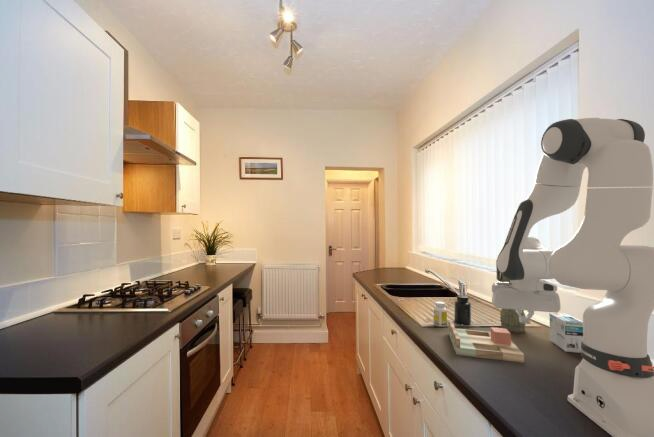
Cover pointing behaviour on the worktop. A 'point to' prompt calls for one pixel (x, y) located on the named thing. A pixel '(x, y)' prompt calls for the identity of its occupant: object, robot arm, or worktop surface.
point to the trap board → (482, 345)
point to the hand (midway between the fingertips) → (524, 322)
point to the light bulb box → (566, 332)
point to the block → (500, 336)
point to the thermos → (510, 313)
